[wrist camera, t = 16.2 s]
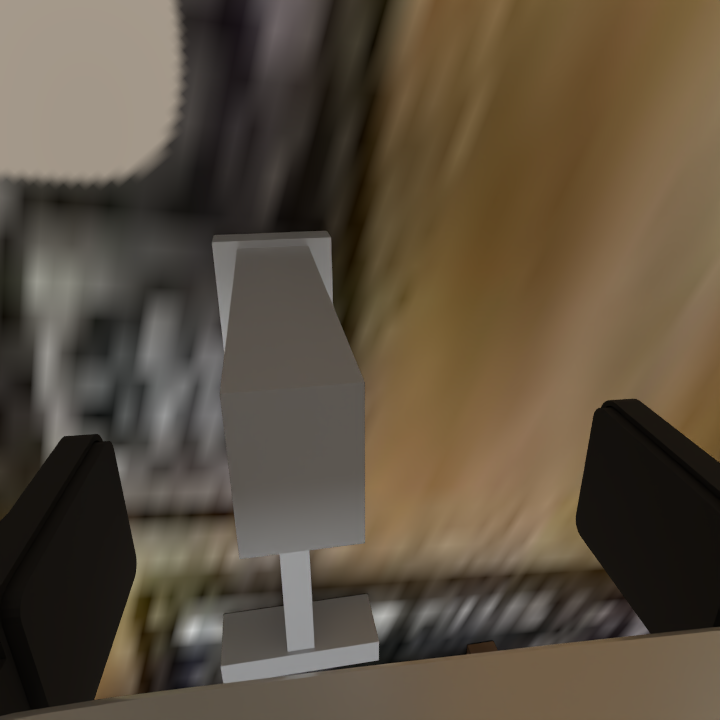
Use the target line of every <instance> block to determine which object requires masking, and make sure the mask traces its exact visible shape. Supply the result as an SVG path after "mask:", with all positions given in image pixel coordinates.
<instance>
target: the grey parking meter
mask: <svg viewBox="0 0 720 720" xmlns="http://www.w3.org/2000/svg"><path fill="white" fill-rule="evenodd" d="M212 249H213V258H214V266H215V275H216V284H217V293H218V302H219V311H220V320H221V328H222V337H223V346H224V353H225V354H224V362H223V371H222V379H221V388H220V400H221V408H222V417H223V425H224V433H225V442H226V450H227V458H228V466H229V475H230V483H231V491H232V500H233V508H234V516H235V524H236V533H237V541H238V549H239V558H240V559H245V558H252V557H260V556H268V555H276V554H280V565H281V577H282V589H283V601H284V606H278V607H271V608H264V609H257V610H250V611H243V612H236V613H229V614H224V619H223V636H222V653H221V672H222V678H223V683H231V682H239V681H248V680H256V679H264V678H271V677H277V676H284V675H290V674H296V673H302V672H308V671H315V670H321V669H327V668H333V667H339V666H346V665H352V664H358V663H364V662H371V661H377V660H379V640H378V636H377V631H376V627H375V623H374V619H373V615H372V610H371V606H370V602H369V598H368V594H363V595H356V596H349V597H341V598H334V599H327V600H320V601H313V602H312V591H311V572H310V554H309V550H315V549H323V548H331V547H339V546H347V545H354V544H362V543H365V382H364V380H363V377H362V375H361V372H360V370H359V367H358V365H357V363H356V360H355V358H354V355H353V353H352V351H351V348H350V346H349V343H348V341H347V338H346V336H345V334H344V331H343V329H342V326H341V324H340V321H339V319H338V317H337V314H336V312H335V309H334V307H333V291H332V253H331V236H330V235H329V233H328V232H327V231H306V232H280V233H255V234H229V235H214V237H213V240H212Z"/></svg>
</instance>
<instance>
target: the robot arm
mask: <svg viewBox="0 0 720 720" xmlns="http://www.w3.org/2000/svg"><path fill="white" fill-rule="evenodd" d="M576 525H577V529H578V532H579V534H580V536H581V537H582V539H583V540H584V542H585V543H586V544H587V546H588V547H589V549H590V550H591V551H592V553H593V554H594V556H595V557H596V558H597V560H598V561H599V562H600V564H601V565H602V567H603V568H604V569H605V571H606V572H607V574H608V575H609V576H610V578H611V579H612V581H613V582H614V583H615V585H616V586H617V588H618V589H619V590H620V592H621V593H622V594H623V596H624V597H625V599H626V600H627V601H628V603H629V604H630V606H631V607H632V608H633V610H634V611H635V613H636V614H637V615H638V617H639V618H640V620H641V621H642V622H643V624H644V625H645V626H646V628H647V629H648V631H649V632H650V633H651V634H646V635H637V636H628V637H619V638H609V639H600V640H591V641H582V642H573V643H563V644H554V645H545V646H537V647H528V648H519V649H510V650H502V651H493V652H484V653H475V654H467V655H458V656H449V657H441V658H432V659H423V660H415V661H406V662H398V663H389V664H380V665H372V666H363V667H355V668H346V669H338V670H330V671H322V672H314V673H305V674H297V675H289V676H281V677H272V678H264V679H256V680H248V681H239V682H231V683H223V684H215V685H206V686H198V687H190V688H182V689H174V690H166V691H158V692H150V693H142V694H134V695H126V696H118V697H111V698H105V699H98V700H94V698H95V695H96V692H97V689H98V686H99V683H100V680H101V677H102V674H103V671H104V668H105V665H106V662H107V659H108V656H109V653H110V650H111V647H112V644H113V641H114V638H115V635H116V632H117V629H118V626H119V623H120V620H121V617H122V614H123V611H124V608H125V605H126V602H127V599H128V596H129V593H130V590H131V587H132V584H133V581H134V578H135V574H136V554H135V549H134V544H133V539H132V534H131V529H130V525H129V520H128V515H127V510H126V505H125V500H124V496H123V491H122V486H121V481H120V476H119V471H118V467H117V462H116V457H115V452H114V448H113V445H112V443H111V442H110V441H104V442H103V441H102V438H101V437H100V436H99V435H98V434H92V435H76V436H64V437H63V438H62V439H61V440H60V442H59V443H58V444H57V446H56V447H55V449H54V450H53V451H52V453H51V454H50V456H49V457H48V458H47V460H46V461H45V463H44V464H43V465H42V467H41V468H40V470H39V471H38V472H37V474H36V475H35V477H34V478H33V479H32V481H31V482H30V484H29V485H28V486H27V488H26V489H25V491H24V492H23V493H22V495H21V496H20V498H19V499H18V500H17V502H16V503H15V505H14V506H13V507H12V509H11V510H10V512H9V513H8V514H7V515H6V516H5V517H4V518H3V519H2V520H1V521H0V720H720V463H719V462H718V461H716V460H715V459H714V458H713V457H711V456H710V455H709V454H707V453H706V452H705V451H704V450H702V449H701V448H700V447H698V446H697V445H696V444H695V443H693V442H692V441H691V440H689V439H688V438H687V437H686V436H684V435H683V434H682V433H680V432H679V431H678V430H677V429H675V428H674V427H673V426H671V425H670V424H669V423H668V422H666V421H665V420H664V419H662V418H661V417H660V416H659V415H657V414H656V413H655V412H653V411H652V410H651V409H650V408H648V407H647V406H646V405H644V404H643V403H642V402H641V401H639V400H637V399H623V400H608V401H606V402H604V403H603V405H602V407H601V408H598V409H597V410H596V411H595V413H594V416H593V421H592V427H591V433H590V439H589V444H588V450H587V456H586V462H585V467H584V473H583V479H582V484H581V490H580V496H579V502H578V507H577V513H576Z"/></svg>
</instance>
